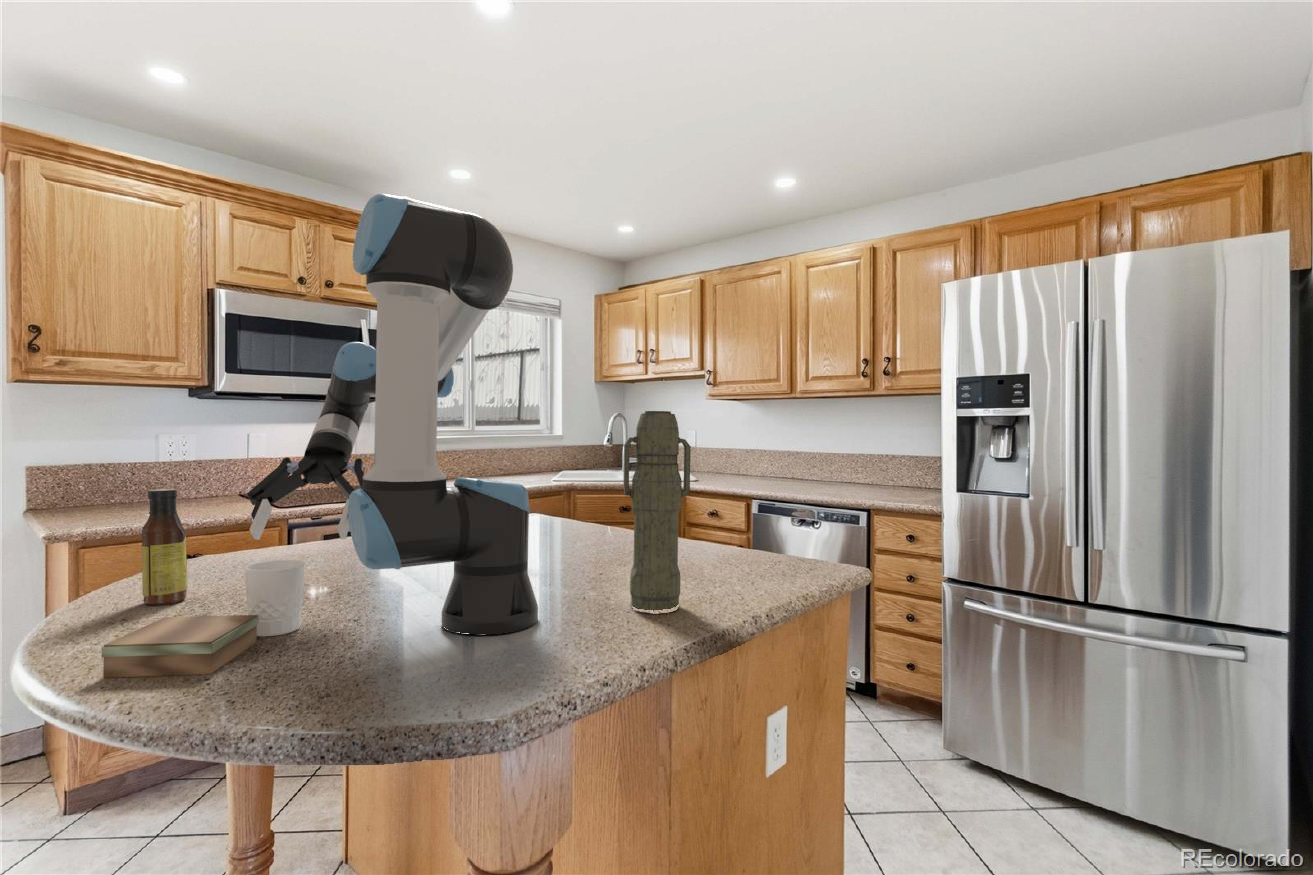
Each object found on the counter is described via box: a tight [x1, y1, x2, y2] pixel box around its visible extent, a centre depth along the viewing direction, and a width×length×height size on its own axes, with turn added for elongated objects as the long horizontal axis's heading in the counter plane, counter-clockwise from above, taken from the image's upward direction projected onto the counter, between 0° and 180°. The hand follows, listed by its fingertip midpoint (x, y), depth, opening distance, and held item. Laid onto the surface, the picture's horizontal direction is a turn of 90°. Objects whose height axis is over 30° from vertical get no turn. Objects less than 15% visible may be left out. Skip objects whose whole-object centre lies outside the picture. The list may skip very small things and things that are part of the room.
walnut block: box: [101, 614, 259, 679], centre depth 84 cm, size 12×12×4 cm
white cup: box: [244, 559, 306, 637], centre depth 97 cm, size 8×8×10 cm
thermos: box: [623, 410, 692, 611], centre depth 113 cm, size 9×12×35 cm
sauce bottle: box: [141, 488, 188, 606], centre depth 112 cm, size 7×6×20 cm
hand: (298, 534), depth 106 cm, fingers open, 13 cm apart
